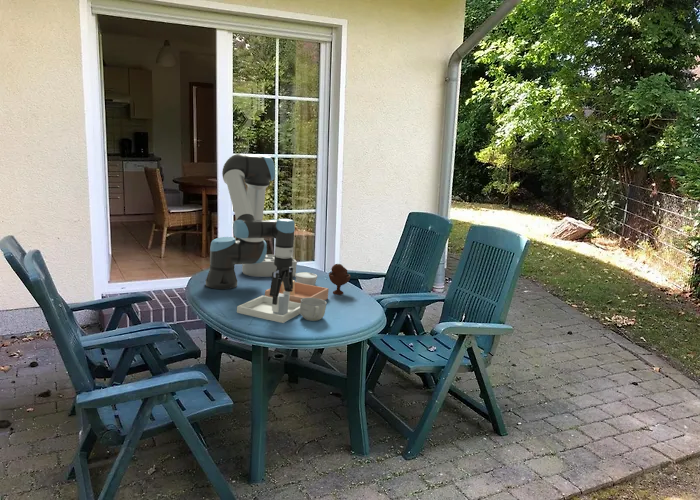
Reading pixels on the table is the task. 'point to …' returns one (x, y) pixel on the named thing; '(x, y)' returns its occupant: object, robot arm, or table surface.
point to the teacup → (312, 308)
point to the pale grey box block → (282, 304)
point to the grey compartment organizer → (264, 267)
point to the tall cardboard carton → (292, 289)
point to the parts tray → (267, 309)
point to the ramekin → (306, 278)
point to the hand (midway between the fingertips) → (280, 308)
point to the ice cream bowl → (339, 277)
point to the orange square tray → (305, 292)
